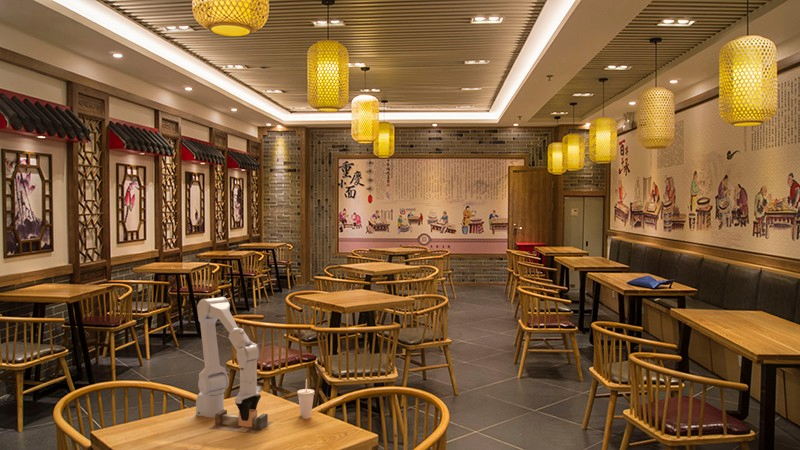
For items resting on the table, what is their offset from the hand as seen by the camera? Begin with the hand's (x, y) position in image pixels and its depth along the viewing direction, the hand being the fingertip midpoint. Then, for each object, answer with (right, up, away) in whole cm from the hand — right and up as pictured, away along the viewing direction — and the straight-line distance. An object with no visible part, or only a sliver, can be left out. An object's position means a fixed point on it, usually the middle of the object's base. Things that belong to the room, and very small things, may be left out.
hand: (248, 418), depth 211 cm
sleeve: (0, -3, 0) cm, 3 cm away
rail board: (-3, -4, +1) cm, 5 cm away
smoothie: (+18, -4, +13) cm, 23 cm away
